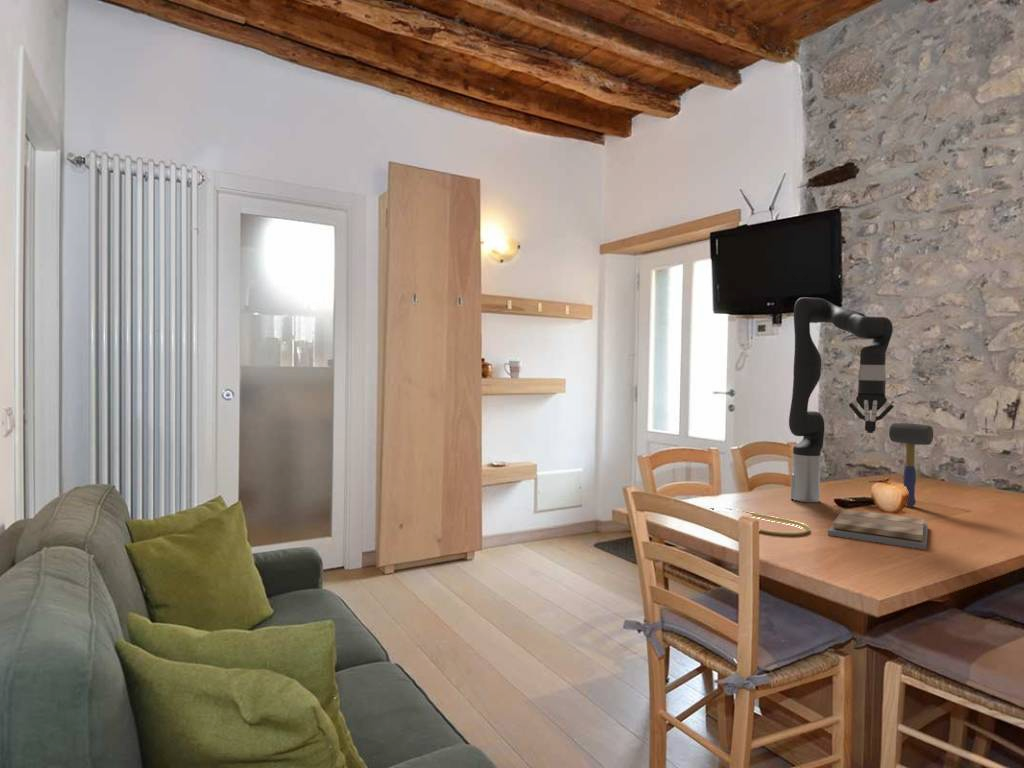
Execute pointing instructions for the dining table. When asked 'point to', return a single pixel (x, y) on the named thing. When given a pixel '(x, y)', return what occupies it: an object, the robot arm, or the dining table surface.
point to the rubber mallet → (910, 450)
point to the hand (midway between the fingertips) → (870, 432)
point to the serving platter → (780, 521)
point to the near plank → (878, 529)
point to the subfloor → (881, 538)
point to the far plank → (883, 516)
